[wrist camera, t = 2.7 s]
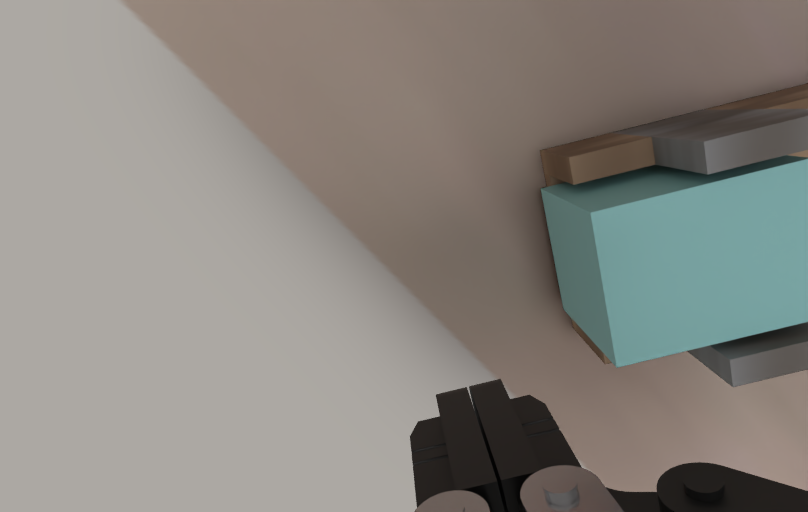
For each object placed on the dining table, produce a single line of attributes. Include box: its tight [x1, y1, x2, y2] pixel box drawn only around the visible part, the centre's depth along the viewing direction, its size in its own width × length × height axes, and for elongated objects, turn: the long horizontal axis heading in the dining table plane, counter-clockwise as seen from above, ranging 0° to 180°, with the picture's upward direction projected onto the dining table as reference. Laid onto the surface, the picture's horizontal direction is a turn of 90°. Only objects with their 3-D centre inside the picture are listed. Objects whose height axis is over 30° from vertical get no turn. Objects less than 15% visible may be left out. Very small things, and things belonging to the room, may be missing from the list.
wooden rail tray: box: [540, 83, 808, 387], centre depth 22 cm, size 16×8×8 cm, turn 104°
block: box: [541, 155, 808, 368], centre depth 22 cm, size 7×5×6 cm
